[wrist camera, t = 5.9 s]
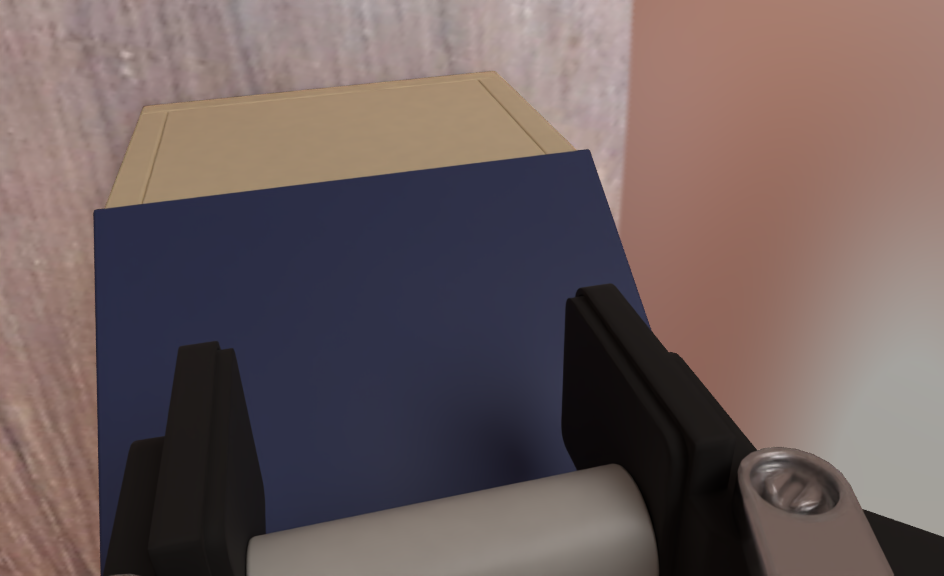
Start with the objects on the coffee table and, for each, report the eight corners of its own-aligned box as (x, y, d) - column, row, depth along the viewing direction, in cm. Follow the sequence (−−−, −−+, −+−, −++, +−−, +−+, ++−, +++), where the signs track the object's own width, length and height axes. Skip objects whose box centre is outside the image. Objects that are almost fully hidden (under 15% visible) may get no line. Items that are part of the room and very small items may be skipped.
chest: (501, 398, 33) (565, 541, 26) (228, 448, 31) (222, 616, 24) (495, 70, 26) (579, 151, 19) (142, 105, 24) (101, 209, 17)
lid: (817, 871, 13) (1081, 985, 8) (127, 1094, 11) (-77, 1427, 6) (582, 167, 19) (653, -13, 14) (103, 228, 17) (-9, 42, 12)
